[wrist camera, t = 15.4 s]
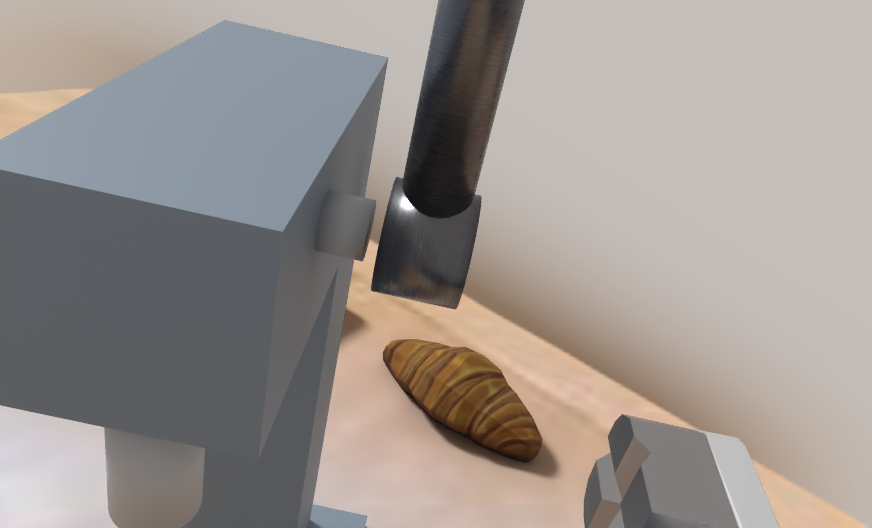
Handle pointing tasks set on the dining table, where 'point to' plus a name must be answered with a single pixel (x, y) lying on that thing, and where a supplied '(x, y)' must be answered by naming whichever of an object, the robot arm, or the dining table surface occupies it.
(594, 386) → the dining table surface
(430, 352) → the croissant
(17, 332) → the press
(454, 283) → the lever
